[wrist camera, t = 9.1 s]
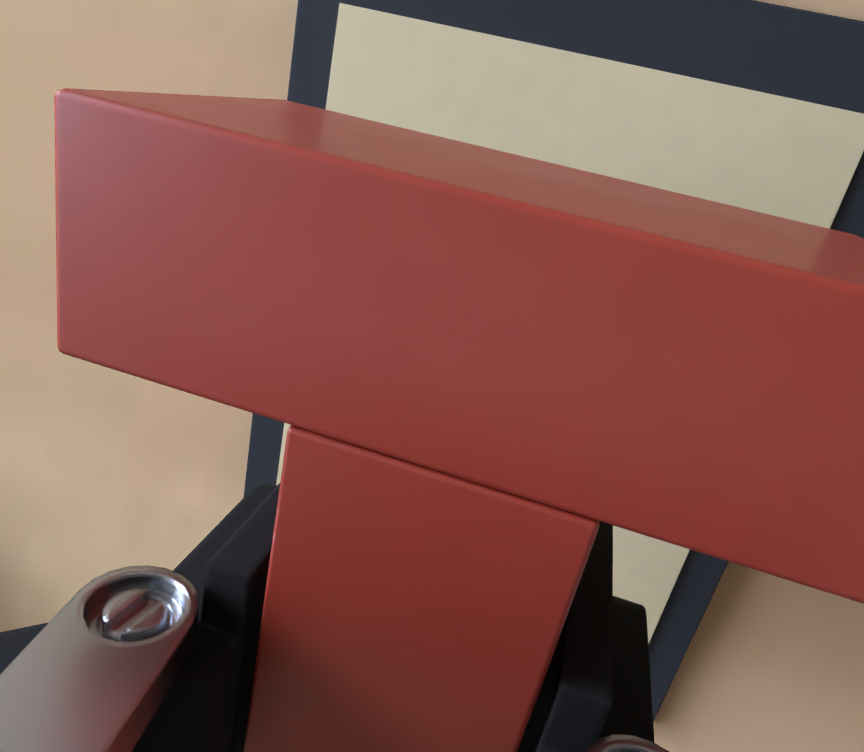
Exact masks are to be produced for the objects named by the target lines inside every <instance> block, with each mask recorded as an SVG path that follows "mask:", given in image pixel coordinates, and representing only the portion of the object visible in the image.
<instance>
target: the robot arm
mask: <svg viewBox="0 0 864 752" xmlns="http://www.w3.org/2000/svg"><path fill="white" fill-rule="evenodd" d="M279 488H280V483H279V484H278V485H274V484H271V483H268V482H260V483H259V484H258V485H256V486H255V487H254V488H253V489H252V490H251V491H250V492H249V493H248V494H247V495H246V496H245V497H244V498H243V499H242V500H241V501H240V502H239V503H238V504H237V506H236V507H235V508H234V509H233V510H232V511H231V512H230V513H229V514H228V515H227V516H226V517H225V518H224V519H223V520H222V521H221V522H220V523H219V524H218V525H217V526H216V527H215V528H214V529H213V530H212V531H211V532H210V533H209V534H208V535H207V536H206V537H205V538H204V539H203V540H202V541H201V542H200V544H199V545H198V546H197V547H196V548H195V549H194V550H193V551H192V552H191V553H190V554H189V555H188V556H187V557H186V558H185V559H184V560H183V561H182V562H181V563H180V564H179V565H178V566H177V567H176V568H175V569H174V570H173V571H171V570H169V569H166V568H161V567H154V566H129V567H125V568H121V569H117V570H113V571H109V572H107V573H105V574H103V575H101V576H99V577H97V578H94V579H93V580H91V581H90V582H89V583H88V584H86V585H85V586H84V587H83V588H81V589H80V590H79V591H78V592H77V593H76V594H75V595H74V596H73V597H72V598H71V600H70V601H69V602H68V603H67V604H66V605H65V606H64V607H63V608H62V609H61V610H60V611H59V612H58V613H57V614H56V616H55V617H54V618H53V619H52V620H51V621H50V622H49V623H44V624H39V625H34V626H29V627H25V628H20V629H15V630H10V631H5V632H1V633H0V752H244V744H245V737H246V730H247V722H248V715H249V708H250V700H251V693H252V686H253V678H254V671H255V664H256V656H257V649H258V642H259V635H260V627H261V620H262V613H263V605H264V598H265V591H266V583H267V576H268V569H269V561H270V554H271V547H272V539H273V532H274V525H275V517H276V510H277V503H278V495H279ZM518 752H669V751H667V750H666V749H664V748H662V747H660V746H659V745H657V744H655V743H654V728H653V711H652V695H651V679H650V663H649V647H648V631H647V615H646V610H645V607H644V606H643V605H640V604H637V603H634V602H631V601H628V600H625V599H622V598H619V597H616V596H613V525H610V524H607V523H604V522H601V521H599V530H598V532H597V535H596V538H595V541H594V543H593V546H592V549H591V552H590V554H589V557H588V560H587V563H586V566H585V568H584V571H583V574H582V577H581V579H580V582H579V585H578V588H577V590H576V593H575V596H574V599H573V601H572V604H571V607H570V610H569V612H568V615H567V618H566V621H565V623H564V626H563V629H562V632H561V634H560V637H559V640H558V643H557V645H556V648H555V651H554V654H553V656H552V659H551V662H550V665H549V667H548V670H547V673H546V676H545V678H544V681H543V684H542V687H541V690H540V692H539V695H538V698H537V701H536V703H535V706H534V709H533V712H532V714H531V717H530V720H529V723H528V725H527V728H526V731H525V734H524V736H523V739H522V742H521V745H520V747H519V750H518Z"/></svg>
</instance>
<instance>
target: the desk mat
mask: <svg viewBox="0 0 864 752" xmlns="http://www.w3.org/2000/svg"><path fill="white" fill-rule="evenodd" d="M287 101H291V102H295V103H300V104H304V105H308V106H312V107H317V108H321V109H325V110H329V111H334V112H338V113H342V114H346V115H350V116H355V117H359V118H363V119H367V120H372V121H376V122H380V123H384V124H389V125H393V126H397V127H401V128H406V129H410V130H414V131H418V132H422V133H427V134H431V135H435V136H439V137H444V138H448V139H452V140H456V141H461V142H465V143H469V144H473V145H477V146H482V147H486V148H490V149H494V150H499V151H503V152H507V153H511V154H516V155H520V156H524V157H528V158H533V159H537V160H541V161H545V162H549V163H554V164H558V165H562V166H566V167H571V168H575V169H579V170H583V171H588V172H592V173H596V174H600V175H604V176H609V177H613V178H617V179H621V180H626V181H630V182H634V183H638V184H643V185H647V186H651V187H655V188H659V189H664V190H668V191H672V192H676V193H681V194H685V195H689V196H693V197H698V198H702V199H706V200H710V201H715V202H719V203H723V204H727V205H731V206H736V207H740V208H744V209H748V210H753V211H757V212H761V213H765V214H770V215H774V216H778V217H782V218H786V219H791V220H795V221H799V222H803V223H808V224H812V225H816V226H820V227H825V228H829V229H833V230H837V231H841V232H846V233H850V234H854V235H857V236H859V237H861V238H863V239H864V22H863V21H857V20H852V19H847V18H842V17H837V16H832V15H826V14H821V13H816V12H811V11H806V10H801V9H795V8H790V7H785V6H780V5H775V4H769V3H764V2H759V1H754V0H298V8H297V17H296V26H295V35H294V44H293V53H292V62H291V71H290V80H289V89H288V99H287ZM290 426H291V425H290V424H287V423H284V422H281V421H277V420H274V419H271V418H268V417H265V416H261V415H258V414H255V413H253V417H252V426H251V435H250V444H249V453H248V463H247V472H246V481H245V490H244V497H245V496H246V495H247V494H248V493H249V492H250V491H251V490H252V489H253V488H254V487H255V486H256V485H258V484H259V483H260V482H268V483H271V484H274V485H278V484H279V483H280V481H281V474H282V466H283V459H284V452H285V444H286V437H287V430H288V428H289V427H290ZM727 563H728V561H726V560H722V559H719V558H716V557H713V556H710V555H706V554H703V553H700V552H697V551H694V550H690V549H687V548H684V547H681V546H678V545H674V544H671V543H668V542H665V541H662V540H658V539H655V538H652V537H649V536H646V535H642V534H639V533H636V532H633V531H630V530H626V529H623V528H620V527H617V526H614V525H613V596H616V597H619V598H622V599H625V600H628V601H631V602H634V603H637V604H640V605H643V606H644V607H645V610H646V615H647V631H648V647H649V663H650V679H651V695H652V711H653V721H654V719H655V717H656V715H657V713H658V711H659V708H660V706H661V704H662V702H663V700H664V698H665V696H666V694H667V691H668V689H669V687H670V685H671V683H672V681H673V679H674V676H675V674H676V672H677V670H678V668H679V666H680V664H681V662H682V659H683V657H684V655H685V653H686V651H687V649H688V647H689V644H690V642H691V640H692V638H693V636H694V634H695V632H696V629H697V627H698V625H699V623H700V621H701V619H702V617H703V615H704V612H705V610H706V608H707V606H708V604H709V602H710V600H711V597H712V595H713V593H714V591H715V589H716V587H717V585H718V582H719V580H720V578H721V576H722V574H723V572H724V570H725V568H726V565H727Z"/></svg>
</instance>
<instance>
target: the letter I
mask: <svg viewBox="0 0 864 752" xmlns="http://www.w3.org/2000/svg"><path fill="white" fill-rule="evenodd" d="M54 100H55V180H56V260H57V340H58V349H59V351H60V352H62V353H63V354H66V355H69V356H73V357H76V358H79V359H82V360H85V361H89V362H92V363H95V364H98V365H101V366H105V367H108V368H111V369H114V370H117V371H121V372H124V373H127V374H130V375H133V376H137V377H140V378H143V379H146V380H149V381H153V382H156V383H159V384H162V385H165V386H169V387H172V388H175V389H178V390H181V391H185V392H188V393H191V394H194V395H197V396H201V397H204V398H207V399H210V400H213V401H217V402H220V403H223V404H226V405H229V406H233V407H236V408H239V409H242V410H245V411H249V412H252V413H255V414H258V415H261V416H265V417H268V418H271V419H274V420H277V421H281V422H284V423H287V424H290V425H291V426H290V427H289V428H288V430H287V437H286V444H285V452H284V459H283V466H282V474H281V481H280V488H279V495H278V503H277V510H276V517H275V525H274V532H273V539H272V547H271V554H270V561H269V569H268V576H267V583H266V591H265V598H264V605H263V613H262V620H261V627H260V635H259V642H258V649H257V656H256V664H255V671H254V678H253V686H252V693H251V700H250V708H249V715H248V722H247V730H246V737H245V744H244V752H518V750H519V747H520V745H521V742H522V739H523V736H524V734H525V731H526V728H527V725H528V723H529V720H530V717H531V714H532V712H533V709H534V706H535V703H536V701H537V698H538V695H539V692H540V690H541V687H542V684H543V681H544V678H545V676H546V673H547V670H548V667H549V665H550V662H551V659H552V656H553V654H554V651H555V648H556V645H557V643H558V640H559V637H560V634H561V632H562V629H563V626H564V623H565V621H566V618H567V615H568V612H569V610H570V607H571V604H572V601H573V599H574V596H575V593H576V590H577V588H578V585H579V582H580V579H581V577H582V574H583V571H584V568H585V566H586V563H587V560H588V557H589V554H590V552H591V549H592V546H593V543H594V541H595V538H596V535H597V532H598V530H599V521H601V522H604V523H607V524H610V525H614V526H617V527H620V528H623V529H626V530H630V531H633V532H636V533H639V534H642V535H646V536H649V537H652V538H655V539H658V540H662V541H665V542H668V543H671V544H674V545H678V546H681V547H684V548H687V549H690V550H694V551H697V552H700V553H703V554H706V555H710V556H713V557H716V558H719V559H722V560H726V561H729V562H732V563H735V564H738V565H742V566H745V567H748V568H751V569H754V570H758V571H761V572H764V573H767V574H770V575H774V576H777V577H780V578H783V579H786V580H790V581H793V582H796V583H799V584H802V585H806V586H809V587H812V588H815V589H818V590H822V591H825V592H828V593H831V594H834V595H838V596H841V597H844V598H847V599H850V600H854V601H857V602H860V603H863V604H864V239H863V238H861V237H859V236H857V235H854V234H850V233H846V232H841V231H837V230H833V229H829V228H825V227H820V226H816V225H812V224H808V223H803V222H799V221H795V220H791V219H786V218H782V217H778V216H774V215H770V214H765V213H761V212H757V211H753V210H748V209H744V208H740V207H736V206H731V205H727V204H723V203H719V202H715V201H710V200H706V199H702V198H698V197H693V196H689V195H685V194H681V193H676V192H672V191H668V190H664V189H659V188H655V187H651V186H647V185H643V184H638V183H634V182H630V181H626V180H621V179H617V178H613V177H609V176H604V175H600V174H596V173H592V172H588V171H583V170H579V169H575V168H571V167H566V166H562V165H558V164H554V163H549V162H545V161H541V160H537V159H533V158H528V157H524V156H520V155H516V154H511V153H507V152H503V151H499V150H494V149H490V148H486V147H482V146H477V145H473V144H469V143H465V142H461V141H456V140H452V139H448V138H444V137H439V136H435V135H431V134H427V133H422V132H418V131H414V130H410V129H406V128H401V127H397V126H393V125H389V124H384V123H380V122H376V121H372V120H367V119H363V118H359V117H355V116H350V115H346V114H342V113H338V112H334V111H329V110H325V109H321V108H317V107H312V106H308V105H304V104H300V103H295V102H291V101H287V100H274V99H255V98H236V97H218V96H199V95H180V94H161V93H142V92H123V91H104V90H85V89H67V88H65V89H61V90H58V91H56V94H55V97H54Z"/></svg>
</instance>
